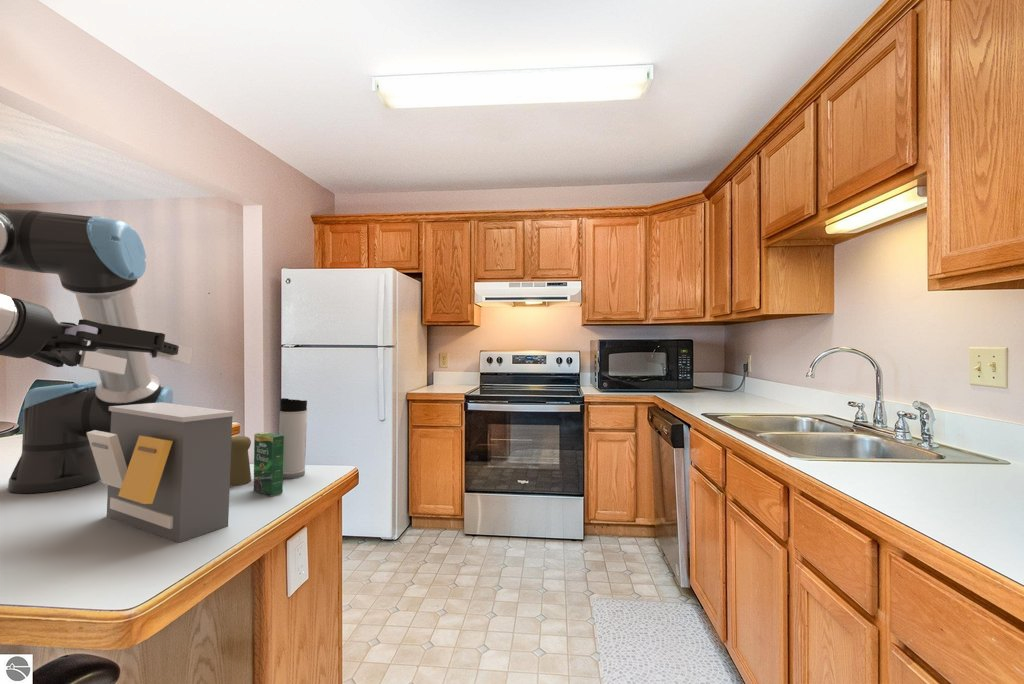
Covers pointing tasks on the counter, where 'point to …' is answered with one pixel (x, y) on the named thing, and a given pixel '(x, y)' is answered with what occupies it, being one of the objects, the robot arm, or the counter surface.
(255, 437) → the coffee box
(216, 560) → the counter surface
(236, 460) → the cork
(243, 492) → the counter surface
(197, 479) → the switch panel
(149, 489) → the rocker amber
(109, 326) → the robot arm
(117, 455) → the rocker ivory
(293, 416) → the travel mug
